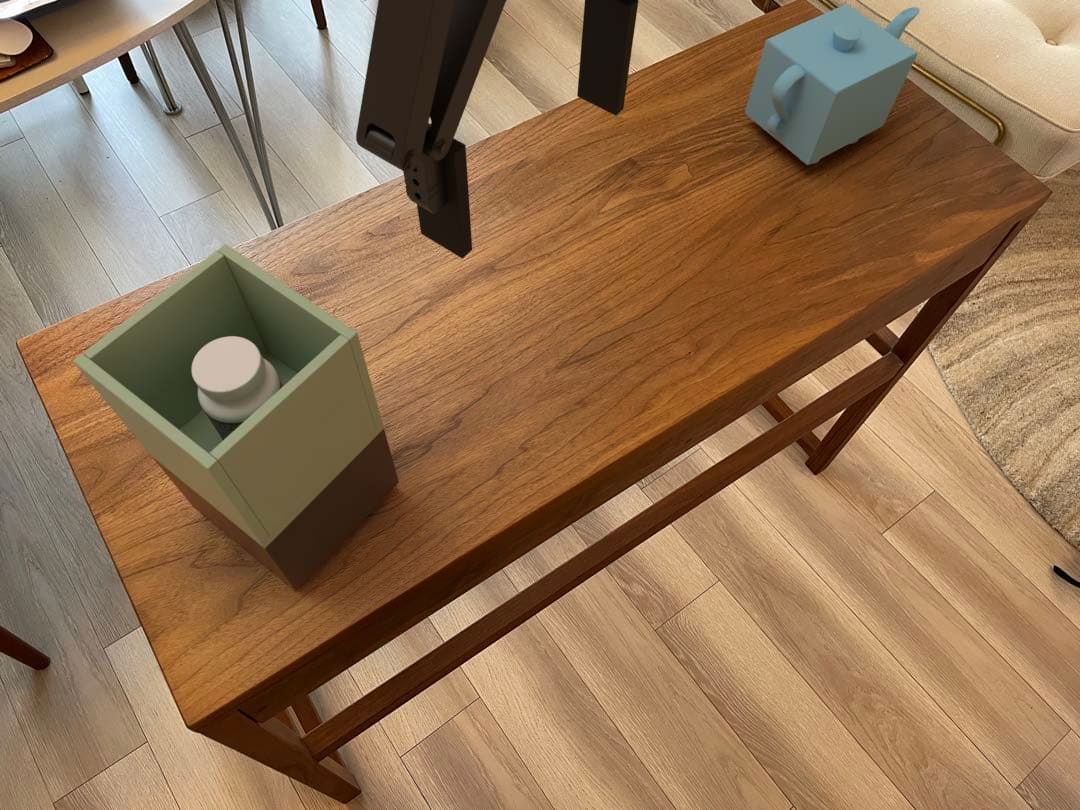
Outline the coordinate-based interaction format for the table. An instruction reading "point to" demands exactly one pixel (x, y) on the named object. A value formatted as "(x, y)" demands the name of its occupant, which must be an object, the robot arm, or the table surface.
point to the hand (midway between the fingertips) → (528, 168)
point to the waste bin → (270, 432)
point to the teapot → (830, 81)
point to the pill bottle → (232, 381)
